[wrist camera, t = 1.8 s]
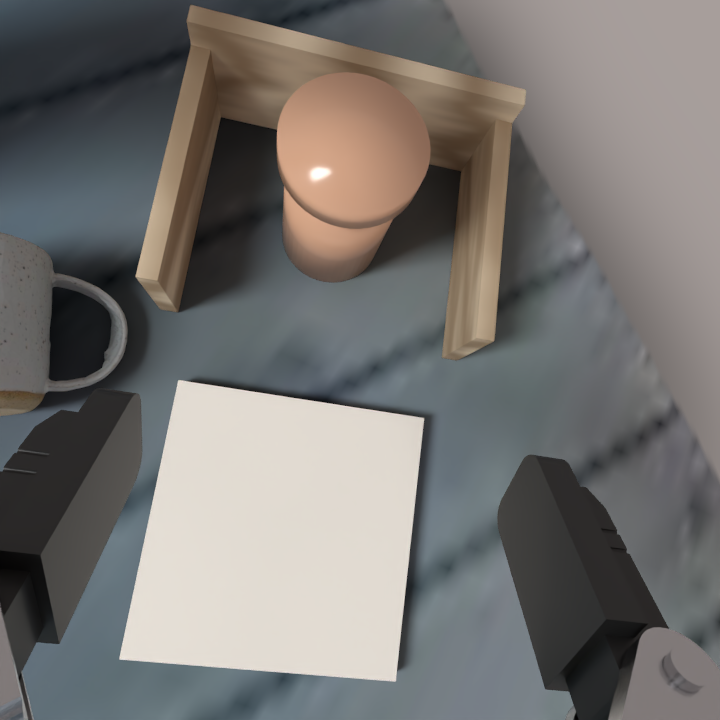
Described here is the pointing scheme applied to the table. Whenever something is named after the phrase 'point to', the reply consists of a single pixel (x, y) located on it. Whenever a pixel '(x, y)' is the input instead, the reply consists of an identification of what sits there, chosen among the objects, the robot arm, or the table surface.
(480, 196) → the wooden frame
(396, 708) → the table surface
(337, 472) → the stone tile
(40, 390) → the ceramic mug
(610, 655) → the robot arm
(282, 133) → the tan round-topped cylinder
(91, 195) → the table surface
